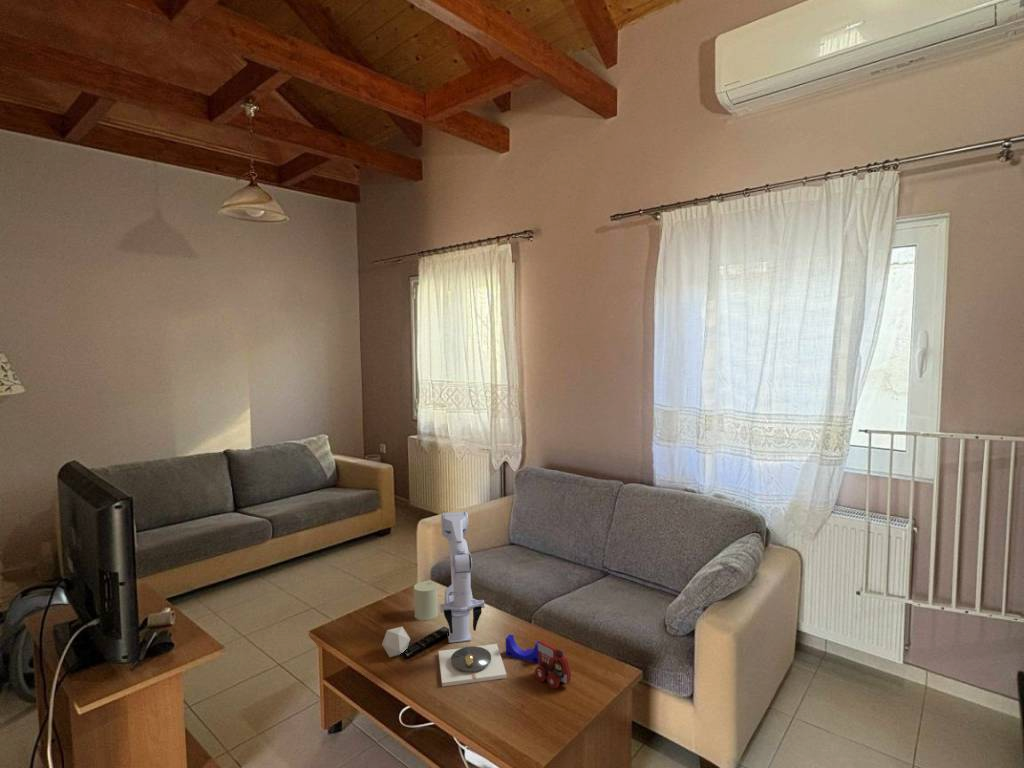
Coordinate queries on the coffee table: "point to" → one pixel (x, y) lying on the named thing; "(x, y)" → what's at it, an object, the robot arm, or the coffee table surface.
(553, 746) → the coffee table surface
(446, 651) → the wheel base
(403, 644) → the die
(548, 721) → the coffee table surface
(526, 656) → the cable clip
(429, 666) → the coffee table surface
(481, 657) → the handwheel
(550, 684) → the toy fire truck
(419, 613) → the can
